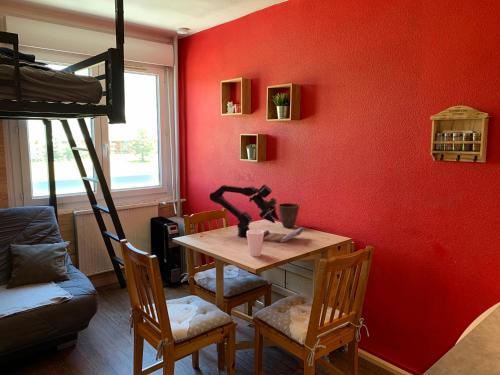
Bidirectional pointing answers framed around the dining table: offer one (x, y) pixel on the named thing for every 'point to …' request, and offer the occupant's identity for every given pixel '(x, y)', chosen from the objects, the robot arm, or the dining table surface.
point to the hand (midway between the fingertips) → (276, 221)
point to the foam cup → (255, 242)
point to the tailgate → (292, 234)
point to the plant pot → (288, 214)
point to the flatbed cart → (272, 237)
